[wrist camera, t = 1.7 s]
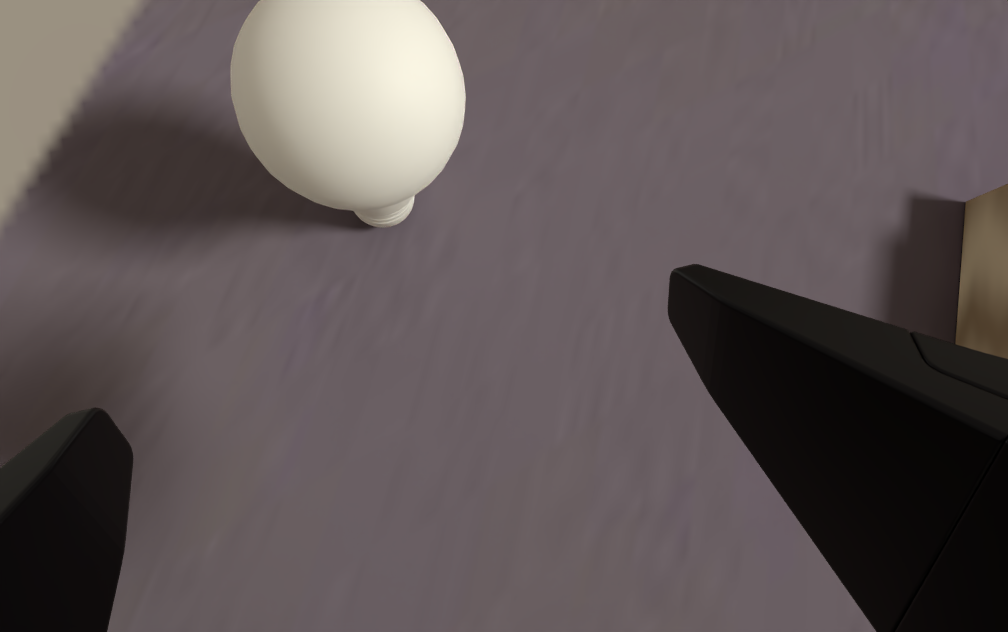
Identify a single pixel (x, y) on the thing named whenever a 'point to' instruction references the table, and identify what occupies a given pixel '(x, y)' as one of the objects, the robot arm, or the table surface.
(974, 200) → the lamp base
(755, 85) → the table surface
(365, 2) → the lightbulb
